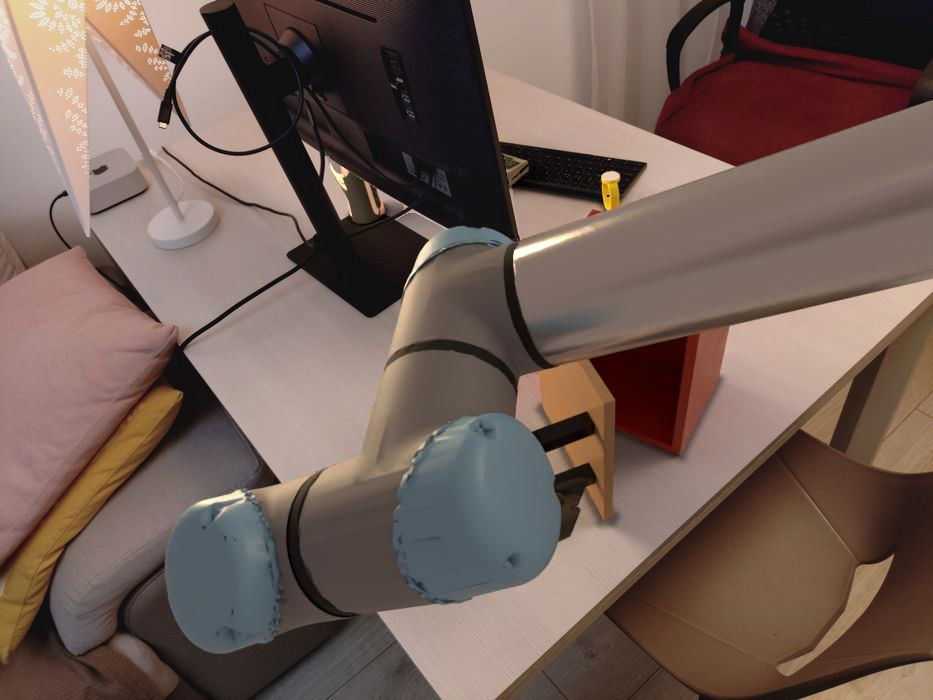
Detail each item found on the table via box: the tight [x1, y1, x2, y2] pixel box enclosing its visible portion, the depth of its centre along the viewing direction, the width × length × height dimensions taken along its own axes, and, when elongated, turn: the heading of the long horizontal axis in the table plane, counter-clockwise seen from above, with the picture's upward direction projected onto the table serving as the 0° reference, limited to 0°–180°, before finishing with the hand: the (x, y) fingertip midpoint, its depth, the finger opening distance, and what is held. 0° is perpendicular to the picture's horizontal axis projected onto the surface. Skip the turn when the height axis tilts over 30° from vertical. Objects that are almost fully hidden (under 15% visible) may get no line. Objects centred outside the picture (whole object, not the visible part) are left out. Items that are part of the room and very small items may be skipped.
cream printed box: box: [502, 153, 530, 187], centre depth 112 cm, size 16×8×3 cm, turn 50°
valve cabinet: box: [586, 209, 731, 456], centre depth 68 cm, size 12×16×20 cm
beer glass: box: [325, 153, 386, 225], centre depth 104 cm, size 7×7×15 cm
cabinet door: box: [531, 359, 616, 521], centre depth 62 cm, size 7×16×20 cm, turn 18°
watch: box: [600, 170, 621, 211], centre depth 97 cm, size 6×3×6 cm, turn 4°
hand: (555, 477), depth 62 cm, fingers open, 5 cm apart
